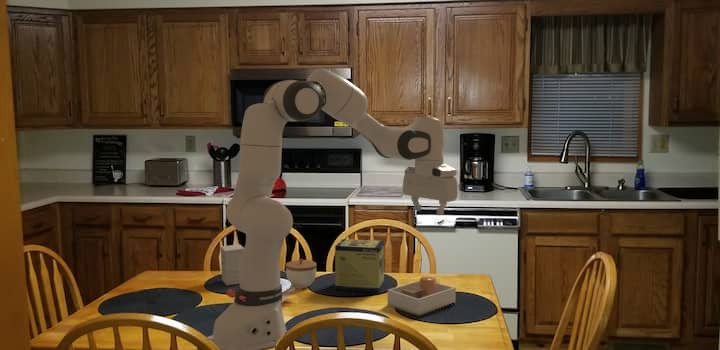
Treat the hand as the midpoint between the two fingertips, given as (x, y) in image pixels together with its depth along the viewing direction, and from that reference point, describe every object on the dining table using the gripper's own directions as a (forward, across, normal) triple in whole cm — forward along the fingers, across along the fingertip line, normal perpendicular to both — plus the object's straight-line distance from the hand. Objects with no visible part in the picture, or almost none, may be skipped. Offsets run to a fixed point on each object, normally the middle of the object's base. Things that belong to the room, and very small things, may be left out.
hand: (428, 212), depth 202 cm
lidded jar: (+29, -42, -19) cm, 55 cm away
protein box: (+29, -27, -5) cm, 40 cm away
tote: (+29, 0, -3) cm, 29 cm away
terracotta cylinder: (+28, 0, 0) cm, 29 cm away
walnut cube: (+28, 0, -7) cm, 29 cm away
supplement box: (+29, -62, -34) cm, 77 cm away
